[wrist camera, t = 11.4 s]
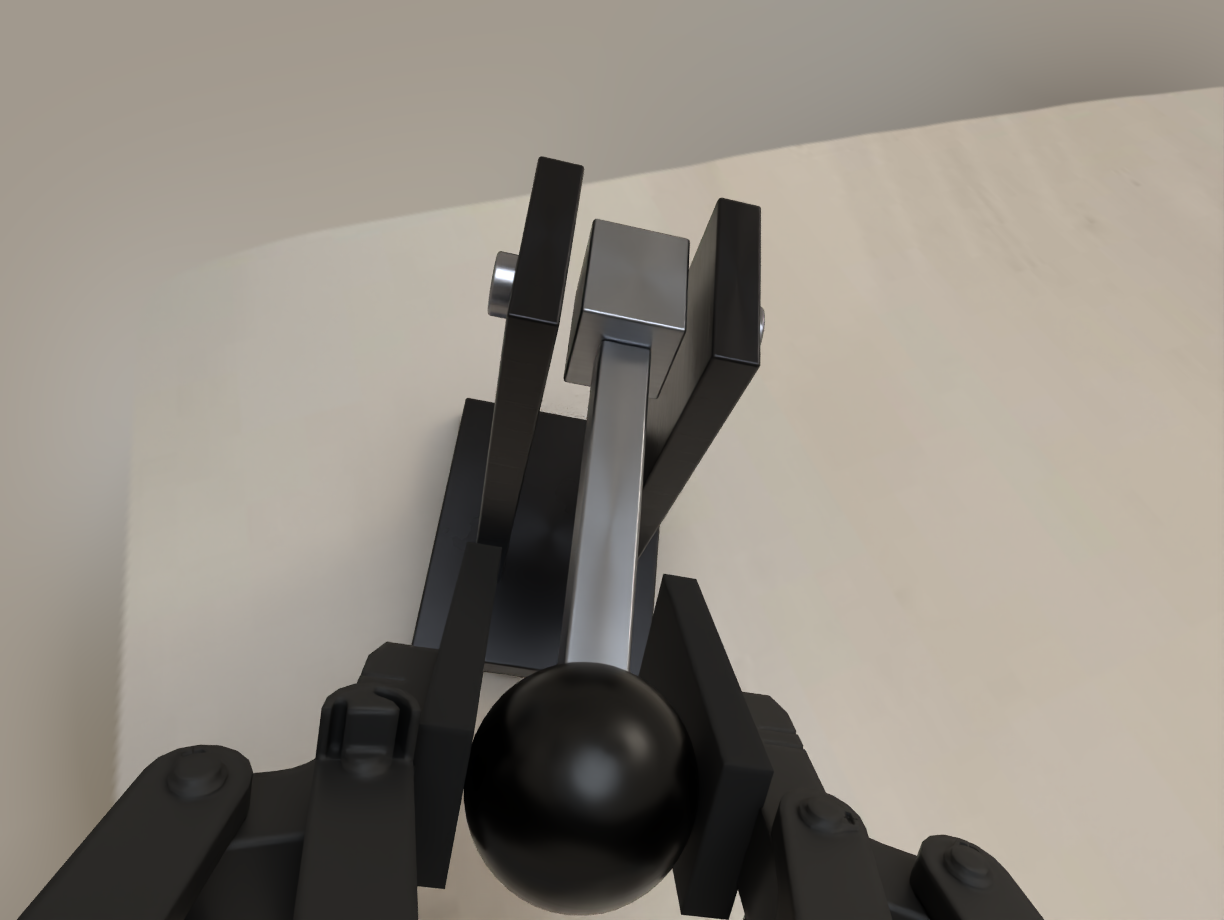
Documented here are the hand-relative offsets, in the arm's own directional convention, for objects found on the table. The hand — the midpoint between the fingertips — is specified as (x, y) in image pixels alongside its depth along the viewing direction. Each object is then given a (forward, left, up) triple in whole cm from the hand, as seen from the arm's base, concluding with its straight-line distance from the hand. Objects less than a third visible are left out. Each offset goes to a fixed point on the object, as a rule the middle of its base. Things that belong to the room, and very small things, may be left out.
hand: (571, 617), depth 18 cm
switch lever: (0, +1, +2) cm, 2 cm away
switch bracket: (0, +6, -11) cm, 12 cm away
